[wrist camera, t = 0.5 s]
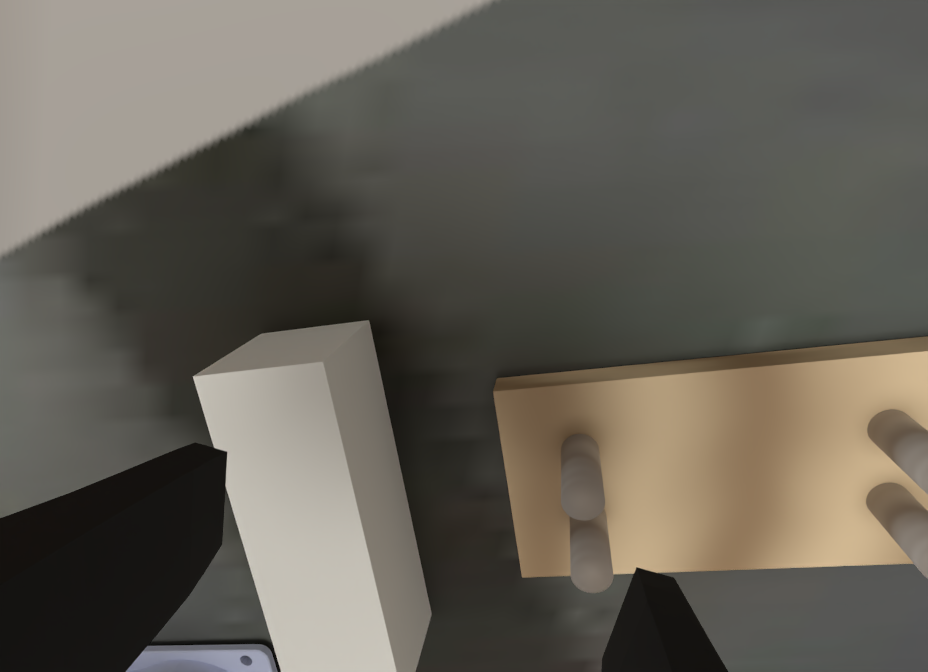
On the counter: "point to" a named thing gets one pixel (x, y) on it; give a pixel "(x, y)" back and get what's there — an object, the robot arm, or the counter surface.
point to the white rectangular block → (320, 498)
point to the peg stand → (720, 463)
